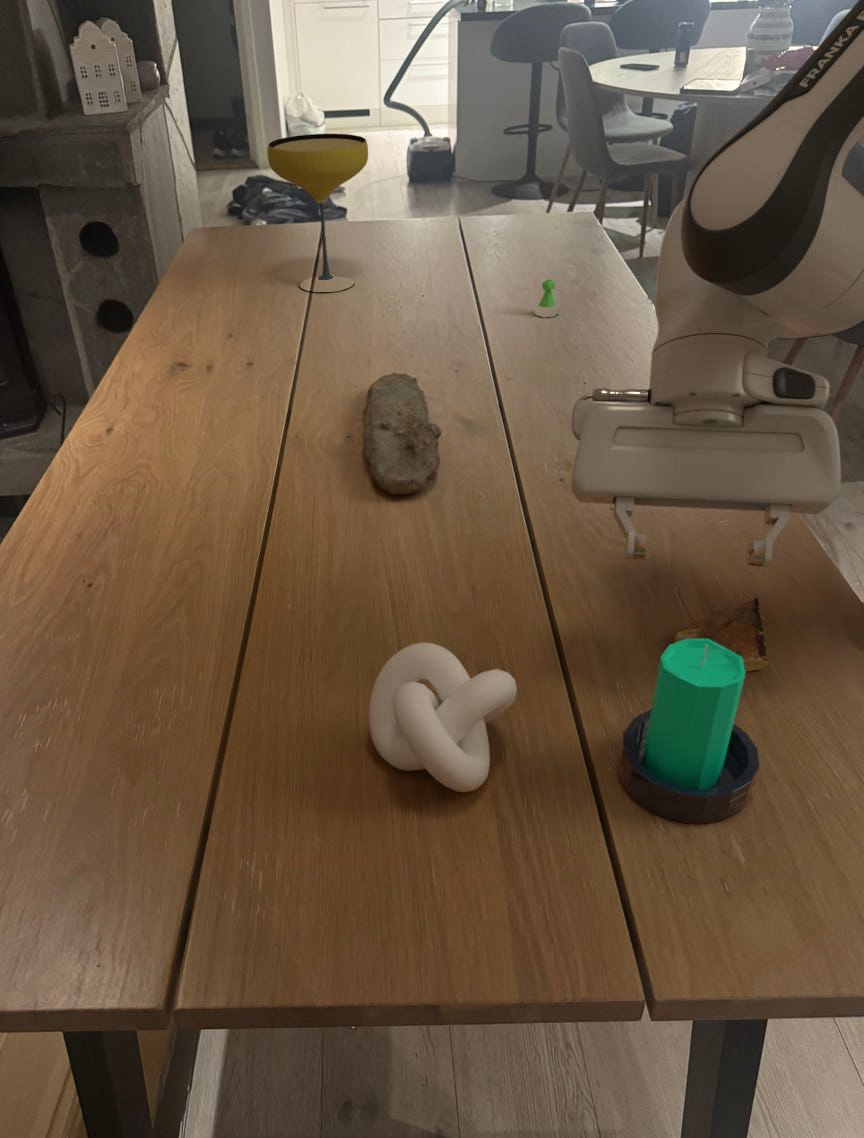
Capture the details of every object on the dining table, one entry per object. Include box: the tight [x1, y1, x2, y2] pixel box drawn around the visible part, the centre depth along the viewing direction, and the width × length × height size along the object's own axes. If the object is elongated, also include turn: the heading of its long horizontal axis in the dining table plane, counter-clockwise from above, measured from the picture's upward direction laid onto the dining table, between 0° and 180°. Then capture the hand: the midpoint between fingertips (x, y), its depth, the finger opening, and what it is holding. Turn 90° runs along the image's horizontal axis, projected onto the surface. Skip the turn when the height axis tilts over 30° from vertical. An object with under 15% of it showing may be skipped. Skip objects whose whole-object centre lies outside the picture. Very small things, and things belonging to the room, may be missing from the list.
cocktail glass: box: [267, 133, 369, 280], centre depth 179 cm, size 18×18×25 cm
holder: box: [618, 708, 760, 825], centre depth 76 cm, size 10×10×3 cm
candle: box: [643, 639, 747, 790], centre depth 72 cm, size 6×6×12 cm
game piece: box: [538, 278, 556, 307], centre depth 166 cm, size 4×4×6 cm
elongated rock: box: [362, 372, 442, 495], centre depth 127 cm, size 35×5×10 cm
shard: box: [674, 597, 769, 673], centre depth 89 cm, size 11×8×2 cm
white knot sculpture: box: [368, 642, 518, 793], centre depth 77 cm, size 11×12×9 cm
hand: (696, 561), depth 75 cm, fingers open, 8 cm apart
